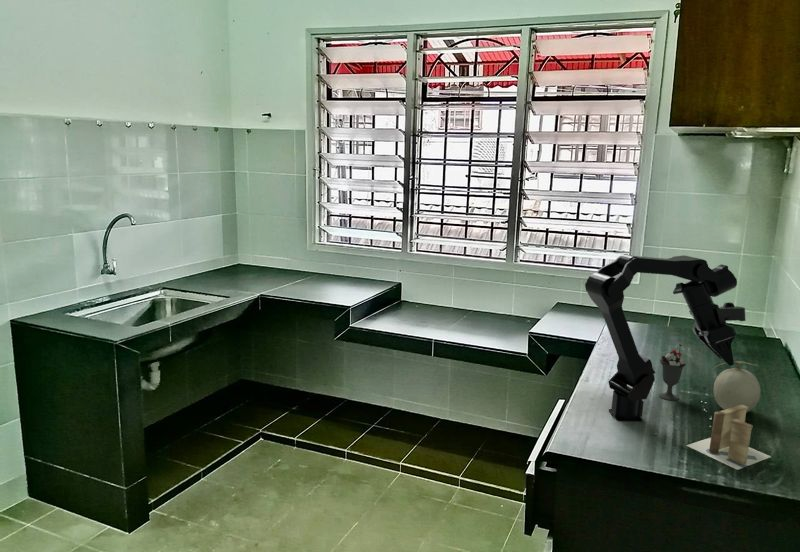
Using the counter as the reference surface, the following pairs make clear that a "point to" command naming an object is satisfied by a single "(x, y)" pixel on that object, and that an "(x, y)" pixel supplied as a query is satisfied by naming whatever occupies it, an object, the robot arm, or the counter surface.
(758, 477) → the counter surface
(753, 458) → the card
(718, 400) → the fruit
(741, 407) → the fence panel
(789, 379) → the counter surface
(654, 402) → the counter surface
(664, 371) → the sundae
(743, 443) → the wooden plank
